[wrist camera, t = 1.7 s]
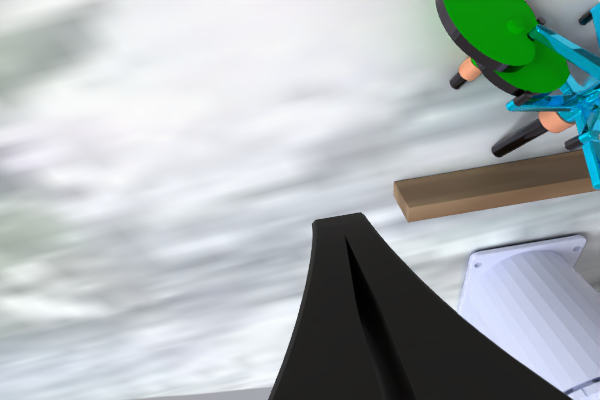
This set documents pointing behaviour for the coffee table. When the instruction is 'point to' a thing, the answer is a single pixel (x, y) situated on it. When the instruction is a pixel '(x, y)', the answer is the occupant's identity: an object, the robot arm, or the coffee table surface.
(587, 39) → the coffee table surface
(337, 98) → the coffee table surface
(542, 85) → the stick construction toy
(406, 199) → the channel box
